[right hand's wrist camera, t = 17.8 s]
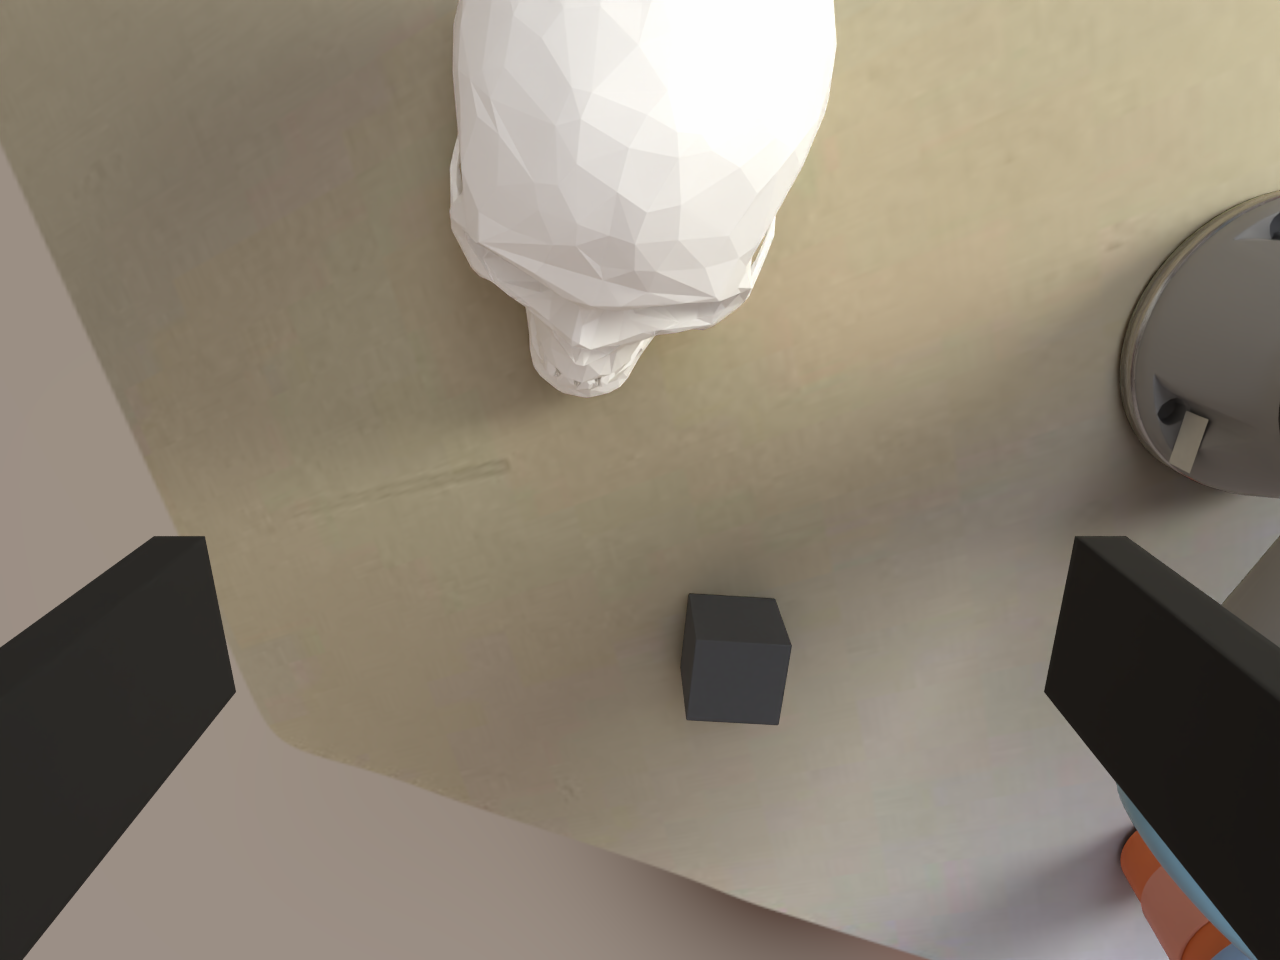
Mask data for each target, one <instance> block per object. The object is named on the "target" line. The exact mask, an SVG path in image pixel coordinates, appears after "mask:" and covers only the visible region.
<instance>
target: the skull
mask: <svg viewBox="0 0 1280 960" xmlns="http://www.w3.org/2000/svg"><path fill="white" fill-rule="evenodd" d="M836 46H837V43H836V29H835V15H834V1H833V0H459V2H458V6H457V11H456V15H455V20H454V24H453V83H454V94H455V105H456V117H457V128H458V136H457V139H456V143H455V146H454V150H453V154H452V159H451V164H450V196H451V208H450V210H449V213H450V219H451V230H452V232H453V234H454V235H455V237H456V239H457V241H458V243H459V245H460V247H461V249H462V251H463V253H464V255H465V257H466V259H467V261H468V263H469V265H470V266H471V268H472V269H473V270H474V271H475V272H476V273H477V274H478V275H479V276H480V277H482V278H485V279H487V280H489V281H491V282H493V283H494V284H495V285H497V286H498V287H499V288H500V289H501V290H503V291H504V292H505V293H506V294H508V295H509V296H510V297H512V298H513V299H515V300H516V301H517V302H519V303H520V304H522V305H523V306H525V307H526V314H527V321H528V329H529V340H530V352H531V357H532V362H533V366H534V367H535V369H536V370H537V372H538V373H539V375H540V376H541V377H542V378H543V379H545V380H546V381H547V382H548V383H550V384H551V385H552V386H553V387H554V388H556V389H557V390H559V391H560V392H562V393H565V394H570V395H575V396H579V397H584V398H588V397H593V396H598V395H602V394H606V393H610V392H612V391H613V390H615V389H617V388H619V387H620V386H621V385H622V384H623V383H624V382H625V380H626V379H627V378H628V376H629V375H630V373H631V371H632V369H633V368H634V366H635V364H636V362H637V361H638V359H639V357H640V356H641V354H642V353H643V351H644V350H645V349H646V347H647V346H648V344H649V343H650V342H651V340H652V339H653V337H654V336H656V335H661V334H671V333H678V332H682V331H686V330H690V329H697V330H705V329H707V328H710V327H712V326H714V325H716V324H717V323H719V322H720V321H721V320H723V319H724V318H725V317H727V316H728V315H729V314H731V313H732V312H733V311H735V310H736V309H737V308H739V307H740V306H741V305H742V304H743V303H744V302H745V300H746V299H747V298H748V297H749V295H750V293H751V291H752V289H753V286H754V284H755V282H756V280H757V277H758V275H759V273H760V270H761V268H762V266H763V263H764V261H765V258H766V256H767V253H768V250H769V248H770V245H771V243H772V240H773V237H774V230H775V216H776V214H777V212H778V210H779V208H780V206H781V205H782V203H783V201H784V199H785V197H786V196H787V194H788V192H789V190H790V188H791V187H792V185H793V183H794V181H795V179H796V178H797V176H798V174H799V172H800V170H801V169H802V167H803V165H804V162H805V160H806V157H807V155H808V153H809V150H810V148H811V145H812V143H813V140H814V138H815V135H816V133H817V131H818V129H819V126H820V124H821V122H822V119H823V117H824V115H825V111H826V107H827V103H828V99H829V93H830V86H831V79H832V73H833V66H834V59H835V53H836ZM460 163H461V173H462V179H461V173H460V168H459V165H460ZM764 235H765V236H766V237H765V239H764V241H763V244H762V246H761V248H760V251H759V253H758V255H757V257H756V260H755V261H754V262H753V264H752V265H751V262H752V256H753V255H754V253H755V251H756V249H757V248H758V246H759V244H760V243H761V241H762V239H763V237H764Z"/></svg>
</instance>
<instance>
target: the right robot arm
mask: <svg viewBox="0 0 1280 960" xmlns="http://www.w3.org/2000/svg"><path fill="white" fill-rule="evenodd" d="M1120 389H1121V397H1122V402H1123V406H1124V410H1125V413H1126V416H1127V419H1128V421H1129V423H1130V425H1131V427H1132V429H1133V431H1134V433H1135V434H1136V436H1137V438H1138V439H1139V441H1140V442H1141V443H1142V444H1143V446H1144V447H1145V448H1146V449H1147V450H1148V451H1149V452H1150V453H1151V454H1152V455H1153V456H1154V457H1155V458H1156V459H1157V460H1159V461H1160V462H1161V463H1163V464H1164V465H1166V466H1167V467H1169V468H1171V469H1173V470H1174V471H1176V472H1178V473H1180V474H1182V475H1183V476H1185V477H1187V478H1189V479H1191V480H1193V481H1196V482H1198V483H1200V484H1203V485H1206V486H1209V487H1212V488H1216V489H1219V490H1222V491H1226V492H1230V493H1235V494H1241V495H1250V496H1261V497H1272V498H1280V190H1279V191H1274V192H1271V193H1268V194H1264V195H1261V196H1258V197H1255V198H1253V199H1250V200H1248V201H1245V202H1243V203H1241V204H1239V205H1237V206H1235V207H1233V208H1231V209H1229V210H1227V211H1225V212H1223V213H1222V214H1220V215H1218V216H1217V217H1215V218H1214V219H1212V220H1210V221H1209V222H1208V223H1206V224H1205V225H1204V226H1202V227H1201V228H1199V229H1198V230H1197V231H1196V232H1194V233H1193V234H1192V235H1191V236H1190V237H1189V238H1187V239H1186V240H1185V241H1184V242H1183V243H1182V244H1181V245H1180V246H1179V247H1178V248H1177V249H1176V250H1175V251H1174V252H1173V253H1172V254H1171V255H1170V256H1169V258H1168V259H1167V260H1166V261H1165V262H1164V263H1163V265H1162V266H1161V267H1160V268H1159V270H1158V271H1157V272H1156V274H1155V275H1154V277H1153V278H1152V279H1151V281H1150V282H1149V284H1148V286H1147V287H1146V289H1145V290H1144V292H1143V294H1142V296H1141V298H1140V300H1139V301H1138V303H1137V305H1136V307H1135V310H1134V312H1133V314H1132V317H1131V319H1130V322H1129V325H1128V328H1127V331H1126V335H1125V338H1124V342H1123V347H1122V352H1121V361H1120ZM235 692H236V690H235V685H234V680H233V675H232V670H231V665H230V660H229V655H228V650H227V645H226V640H225V635H224V630H223V625H222V620H221V615H220V610H219V605H218V600H217V595H216V590H215V585H214V580H213V575H212V570H211V565H210V560H209V555H208V550H207V545H206V540H205V536H154V537H152V538H151V539H150V540H148V541H147V542H146V543H144V544H143V545H141V546H140V547H139V548H137V549H136V550H134V551H133V552H132V553H130V554H129V555H128V556H126V557H125V558H123V559H122V560H121V561H119V562H118V563H117V564H115V565H114V566H112V567H111V568H110V569H108V570H107V571H105V572H104V573H103V574H101V575H100V576H99V577H97V578H96V579H94V580H93V581H92V582H90V583H89V584H87V585H86V586H85V587H83V588H82V589H81V590H79V591H78V592H76V593H75V594H74V595H72V596H71V597H69V598H68V599H67V600H65V601H64V602H63V603H61V604H60V605H59V606H57V607H56V608H54V609H53V610H52V611H50V612H49V613H47V614H46V615H45V616H43V617H42V618H41V619H39V620H38V621H36V622H35V623H34V624H32V625H31V626H29V627H28V628H27V629H25V630H24V631H23V632H21V633H20V634H18V635H17V636H16V637H14V638H13V639H11V640H10V641H9V642H7V643H6V644H5V645H3V646H2V647H0V960H23V958H24V957H25V956H26V955H27V953H28V952H29V951H30V950H31V948H32V947H33V946H34V945H35V943H36V942H37V941H38V940H39V938H40V937H41V936H42V935H43V933H44V932H45V931H46V930H47V928H48V927H49V926H50V925H51V923H52V922H53V921H54V920H55V918H56V917H57V916H58V915H59V913H60V912H61V911H62V910H63V908H64V907H65V906H66V904H67V903H68V902H69V901H70V899H71V898H72V897H73V896H74V894H75V893H76V892H77V891H78V889H79V888H80V887H81V886H82V884H83V883H84V882H85V881H86V879H87V878H88V877H89V876H90V874H91V873H92V872H93V871H94V869H95V868H96V867H97V866H98V864H99V863H100V862H101V861H102V859H103V858H104V857H105V855H106V854H107V853H108V852H109V851H110V849H111V848H112V847H113V845H114V844H115V843H116V842H117V840H118V839H119V838H120V837H121V835H122V834H123V833H124V832H125V830H126V829H127V828H128V827H129V825H130V824H131V823H132V822H133V820H134V819H135V818H136V817H137V815H138V814H139V813H140V812H141V810H142V809H143V808H144V807H145V805H146V804H147V803H148V801H149V800H150V799H151V798H152V797H153V795H154V794H155V793H156V792H157V790H158V789H159V788H160V787H161V785H162V784H163V783H164V781H165V780H166V779H167V778H168V776H169V775H170V774H171V773H172V771H173V770H174V769H175V768H176V766H177V765H178V764H179V763H180V761H181V760H182V759H183V758H184V756H185V755H186V754H187V753H188V751H189V750H190V749H191V748H192V746H193V745H194V744H195V743H196V741H197V740H198V739H199V738H200V736H201V735H202V734H203V733H204V731H205V730H206V729H207V728H208V726H209V725H210V724H211V722H212V721H213V720H214V719H215V717H216V716H217V715H218V714H219V712H220V711H221V710H222V709H223V707H224V706H225V705H226V704H227V702H228V701H229V700H230V699H231V697H232V696H233V695H234V694H235ZM1044 692H1045V694H1046V695H1047V696H1048V697H1049V699H1050V700H1051V701H1052V702H1053V704H1054V705H1055V706H1056V707H1057V709H1058V710H1059V711H1060V712H1061V714H1062V715H1063V716H1064V717H1065V719H1066V720H1067V721H1068V722H1069V724H1070V725H1071V726H1072V728H1073V729H1074V730H1075V731H1076V733H1077V734H1078V735H1079V736H1080V738H1081V739H1082V740H1083V741H1084V743H1085V744H1086V745H1087V746H1088V748H1089V749H1090V750H1091V751H1092V753H1093V754H1094V755H1095V756H1096V758H1097V759H1098V760H1099V761H1100V763H1101V764H1102V765H1103V766H1104V768H1105V769H1106V770H1107V771H1108V773H1109V774H1110V775H1111V776H1112V778H1113V779H1114V780H1115V782H1116V784H1117V790H1118V793H1119V796H1120V799H1121V802H1122V804H1123V806H1124V808H1125V810H1126V812H1127V813H1128V815H1129V817H1130V819H1131V821H1132V823H1133V825H1134V826H1135V828H1136V829H1137V831H1138V833H1139V834H1140V836H1141V837H1142V839H1143V840H1144V842H1145V843H1146V845H1147V846H1148V848H1149V849H1150V851H1151V852H1152V853H1153V855H1154V856H1155V858H1156V859H1157V860H1158V862H1159V863H1160V864H1161V866H1162V867H1163V868H1164V869H1165V871H1166V872H1167V873H1168V875H1169V876H1170V877H1171V878H1172V879H1173V881H1174V882H1175V883H1176V884H1177V885H1178V887H1179V888H1180V889H1181V890H1182V891H1183V892H1184V894H1185V895H1186V896H1187V897H1188V898H1189V899H1190V900H1191V902H1192V903H1193V904H1194V905H1195V906H1196V907H1197V908H1198V909H1199V910H1200V912H1201V913H1202V914H1203V915H1204V916H1205V917H1206V918H1207V919H1208V920H1209V921H1210V922H1211V923H1212V924H1213V925H1214V926H1215V927H1216V928H1217V929H1218V930H1219V931H1220V932H1221V933H1222V934H1223V935H1224V936H1225V937H1226V938H1227V939H1228V940H1229V941H1230V942H1231V943H1232V944H1233V945H1234V946H1235V947H1236V948H1238V949H1239V950H1240V951H1241V952H1242V953H1243V954H1244V955H1245V956H1246V957H1248V958H1249V959H1250V960H1280V536H1279V537H1278V538H1277V540H1276V541H1275V542H1274V543H1273V544H1272V545H1271V547H1270V548H1269V549H1268V550H1267V551H1266V553H1265V554H1264V555H1263V556H1262V557H1261V559H1260V560H1259V561H1258V562H1257V563H1256V564H1255V566H1254V567H1253V568H1252V569H1251V570H1250V572H1249V573H1248V574H1247V575H1246V576H1245V577H1244V579H1243V580H1242V581H1241V582H1240V583H1239V585H1238V586H1237V587H1236V588H1235V589H1234V590H1233V592H1232V593H1231V594H1230V595H1229V596H1228V598H1227V599H1226V600H1225V601H1224V602H1223V603H1222V605H1220V604H1219V603H1217V602H1216V601H1215V600H1213V599H1212V598H1211V597H1209V596H1208V595H1206V594H1205V593H1204V592H1202V591H1201V590H1199V589H1198V588H1197V587H1195V586H1194V585H1193V584H1191V583H1190V582H1188V581H1187V580H1186V579H1184V578H1183V577H1181V576H1180V575H1179V574H1177V573H1176V572H1175V571H1173V570H1172V569H1170V568H1169V567H1168V566H1166V565H1165V564H1164V563H1162V562H1161V561H1159V560H1158V559H1157V558H1155V557H1154V556H1152V555H1151V554H1150V553H1148V552H1147V551H1146V550H1144V549H1143V548H1141V547H1140V546H1139V545H1137V544H1136V543H1135V542H1133V541H1132V540H1130V539H1129V538H1128V537H1126V536H1075V540H1074V545H1073V550H1072V555H1071V560H1070V565H1069V570H1068V575H1067V580H1066V585H1065V590H1064V595H1063V600H1062V605H1061V610H1060V615H1059V620H1058V625H1057V630H1056V635H1055V640H1054V645H1053V650H1052V655H1051V660H1050V665H1049V670H1048V675H1047V680H1046V685H1045V690H1044Z"/></svg>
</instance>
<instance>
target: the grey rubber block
mask: <svg viewBox="0 0 1280 960" xmlns="http://www.w3.org/2000/svg"><path fill="white" fill-rule="evenodd" d="M791 647H792V645H791V643H790V640H789V637H788V634H787V631H786V628H785V626H784V623H783V620H782V617H781V614H780V612H779V609H778V606H777V603H776V600H775V599H770V598H754V597H738V596H721V595H705V594H689V596H688V605H687V614H686V623H685V631H684V640H683V649H682V658H681V667H680V668H681V677H682V686H683V694H684V703H685V712H686V719H687V720H694V721H712V722H730V723H748V724H766V725H778V724H779V719H780V713H781V707H782V701H783V695H784V689H785V683H786V677H787V671H788V665H789V659H790V653H791Z"/></svg>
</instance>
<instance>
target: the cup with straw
mask: <svg viewBox="0 0 1280 960" xmlns="http://www.w3.org/2000/svg"><path fill="white" fill-rule="evenodd" d="M1120 862H1121V868H1122V871H1123V873H1124V875H1125V877H1126V878H1127V880H1128V882H1129V884H1130V885H1131V887H1132V889H1133V891H1134V892H1135V894H1136V896H1137V898H1138V899H1139V901H1140V903H1141V907H1142V911H1143V913H1144V916H1145V917H1146V919H1147V921H1148V923H1149V924H1150V926H1151V928H1152V930H1153V931H1154V933H1155V935H1156V937H1157V938H1158V940H1159V942H1160V944H1161V945H1162V947H1163V949H1164V951H1165V952H1166V954H1167V956H1168V957H1169V959H1170V960H1250V959H1249V958H1248V957H1246V956H1245V955H1244V954H1243V953H1242V952H1241V951H1240V950H1239V949H1238V948H1236V947H1235V946H1234V945H1233V944H1232V943H1231V942H1230V941H1229V940H1228V939H1227V938H1226V937H1225V936H1224V935H1223V934H1222V933H1221V932H1220V931H1219V930H1218V929H1217V928H1216V927H1215V926H1214V925H1213V924H1212V923H1211V922H1210V921H1209V920H1208V919H1207V918H1206V917H1205V916H1204V915H1203V914H1202V913H1201V912H1200V910H1199V909H1198V908H1197V907H1196V906H1195V905H1194V904H1193V903H1192V902H1191V900H1190V899H1189V898H1188V897H1187V896H1186V895H1185V894H1184V892H1183V891H1182V890H1181V889H1180V888H1179V887H1178V885H1177V884H1176V883H1175V882H1174V881H1173V879H1172V878H1171V877H1170V876H1169V875H1168V873H1167V872H1166V871H1165V869H1164V868H1163V867H1162V866H1161V864H1160V863H1159V862H1158V860H1157V859H1156V858H1155V856H1154V855H1153V853H1152V852H1151V851H1150V849H1149V848H1148V846H1147V845H1146V843H1145V842H1144V840H1143V839H1142V837H1141V836H1140V834H1139V833H1138V831H1136V832H1134V833H1133V834H1132V835H1131V837H1130V838H1129V839H1128V840H1127V842H1126V843H1125V845H1124V847H1123V850H1122V853H1121V858H1120Z"/></svg>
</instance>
